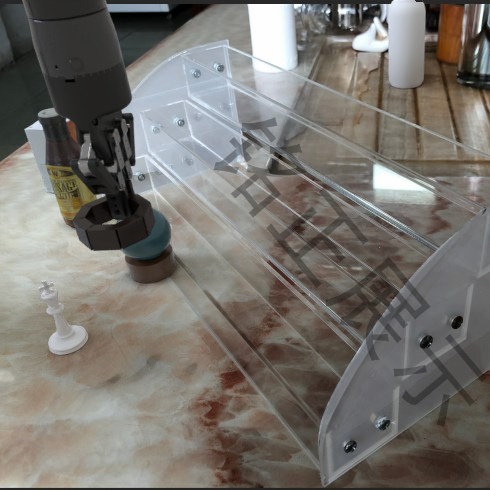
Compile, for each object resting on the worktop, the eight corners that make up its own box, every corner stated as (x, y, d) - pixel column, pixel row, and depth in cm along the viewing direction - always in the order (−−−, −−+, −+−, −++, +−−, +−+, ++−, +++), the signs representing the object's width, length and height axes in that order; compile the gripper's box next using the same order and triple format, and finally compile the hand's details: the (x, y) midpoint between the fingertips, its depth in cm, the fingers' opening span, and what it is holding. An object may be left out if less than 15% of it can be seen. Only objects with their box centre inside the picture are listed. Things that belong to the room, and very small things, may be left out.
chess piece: (43, 341, 78) (16, 281, 73) (80, 323, 81) (56, 264, 75) (56, 360, 75) (29, 299, 69) (94, 341, 77) (71, 281, 72)
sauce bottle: (57, 227, 103) (16, 118, 91) (79, 208, 107) (43, 103, 96) (89, 231, 101) (51, 120, 90) (110, 212, 106) (77, 105, 94)
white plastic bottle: (387, 78, 155) (387, -49, 138) (421, 76, 154) (425, -52, 137) (389, 90, 147) (388, -43, 130) (425, 88, 147) (429, -46, 130)
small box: (74, 195, 112) (52, 130, 105) (46, 192, 114) (22, 129, 106) (98, 175, 118) (79, 113, 111) (71, 173, 120) (50, 112, 113)
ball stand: (119, 286, 87) (100, 226, 81) (134, 255, 94) (116, 197, 88) (173, 283, 87) (157, 223, 81) (184, 252, 93) (170, 194, 88)
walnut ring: (71, 252, 61) (63, 232, 60) (95, 214, 68) (89, 194, 66) (143, 249, 61) (137, 228, 60) (161, 211, 67) (156, 191, 66)
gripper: (69, 42, 63) (111, 186, 73) (12, 86, 52) (71, 249, 62) (139, 38, 63) (172, 184, 72) (96, 81, 51) (142, 247, 61)
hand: (125, 213), depth 67 cm, fingers closed on walnut ring, 1 cm apart
